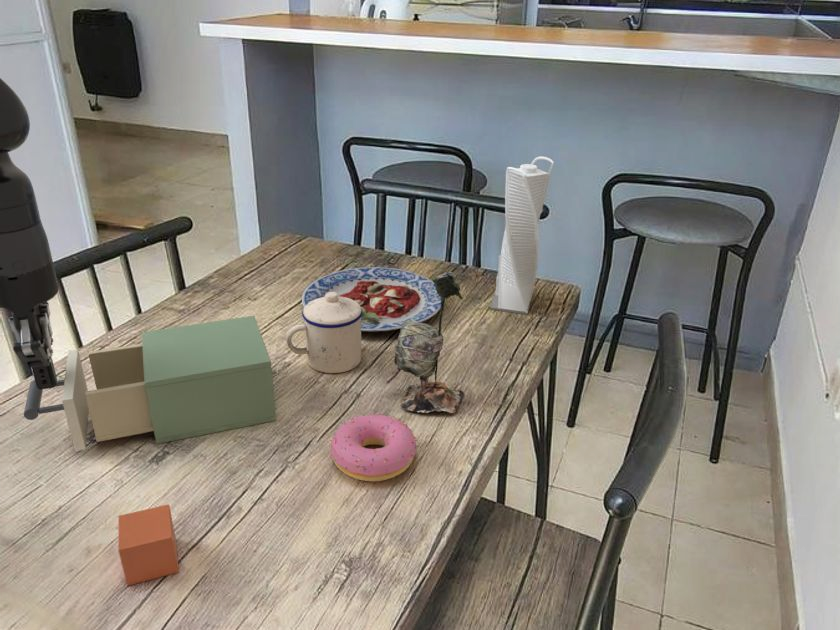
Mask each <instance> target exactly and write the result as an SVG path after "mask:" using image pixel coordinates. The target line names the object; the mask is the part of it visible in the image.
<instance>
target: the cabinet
mask: <svg viewBox="0 0 840 630" xmlns="http://www.w3.org/2000/svg"><path fill="white" fill-rule="evenodd" d="M141 344H142V347H143V366H144V383H145V388H146V393H147V399H148V404H149V409H150V414H151V419H152V424H153V429H154V431H153V433H154V439H155V444H156V445H159V444H164V443H168V442H174V441H179V440H185V439H189V438H190V439H191V438H194V437H199V436H204V435H209V434H214V433H215V434H216V433H220V432H225V431H230V430H234V429H239V428H244V427H249V426H254V425H259V424H265V423H270V422H274V421H277V416H276V415H277V413H276V404H275V402H276V401H275V392H274V381H273V372H272V371H273V369H272V360H271V357H270V355H269V353H268V350H267V347H266V344H265V341H264V338H263V336H262V333H261V330H260V328H259V325H258V322H257V320H256V317H255V315H249V316H242V317H235V318H230V319H229V318H228V319H222V320H214V321H208V322H201V323H195V324H188V325H182V326H181V325H180V326H174V327H168V328H167V327H166V328H160V329H153V330H147V331H141Z"/></svg>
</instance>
